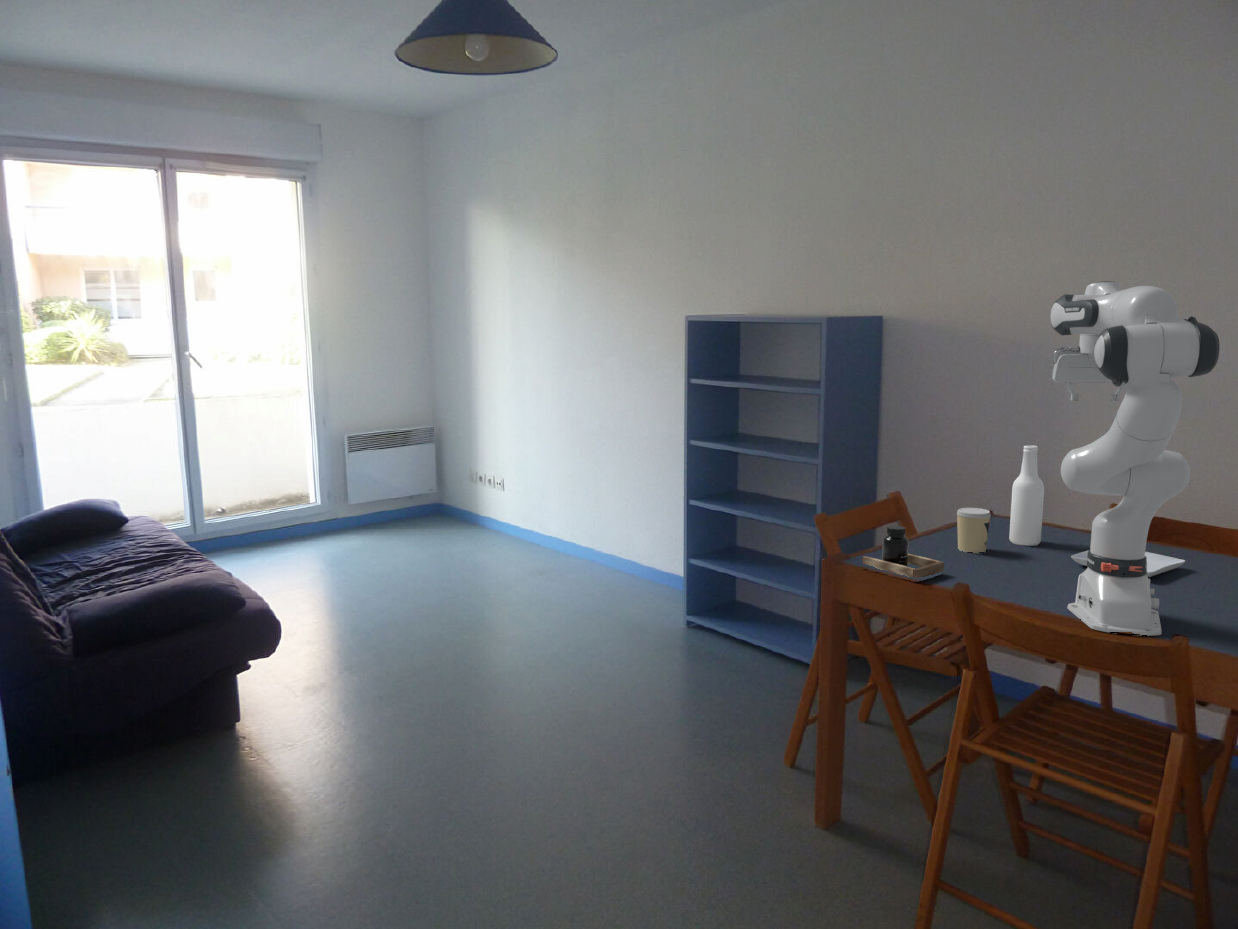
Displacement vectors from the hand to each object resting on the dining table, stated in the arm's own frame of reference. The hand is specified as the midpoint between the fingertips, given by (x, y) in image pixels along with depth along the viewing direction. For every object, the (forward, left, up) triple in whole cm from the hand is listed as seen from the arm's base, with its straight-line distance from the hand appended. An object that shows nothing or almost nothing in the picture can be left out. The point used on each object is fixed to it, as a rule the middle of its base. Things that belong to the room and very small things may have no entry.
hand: (1094, 400), depth 224 cm
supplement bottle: (-6, +48, -47) cm, 67 cm away
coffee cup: (+21, +26, -47) cm, 58 cm away
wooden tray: (-8, +45, -47) cm, 66 cm away
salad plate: (+12, -13, -48) cm, 51 cm away
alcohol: (+34, +10, -47) cm, 59 cm away
